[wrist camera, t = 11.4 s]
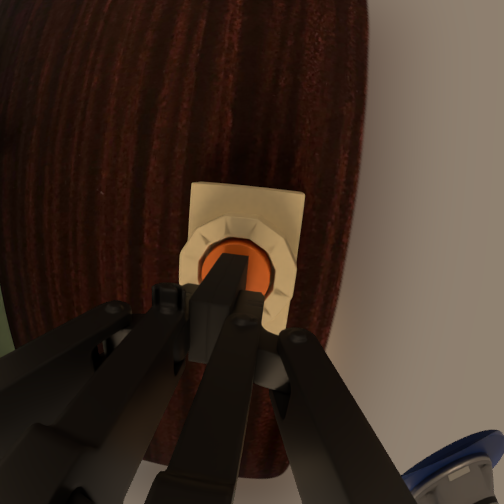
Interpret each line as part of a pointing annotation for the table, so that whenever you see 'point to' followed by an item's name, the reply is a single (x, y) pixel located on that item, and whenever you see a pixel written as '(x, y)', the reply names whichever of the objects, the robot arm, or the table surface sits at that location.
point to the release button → (256, 264)
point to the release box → (247, 236)
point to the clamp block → (4, 331)
